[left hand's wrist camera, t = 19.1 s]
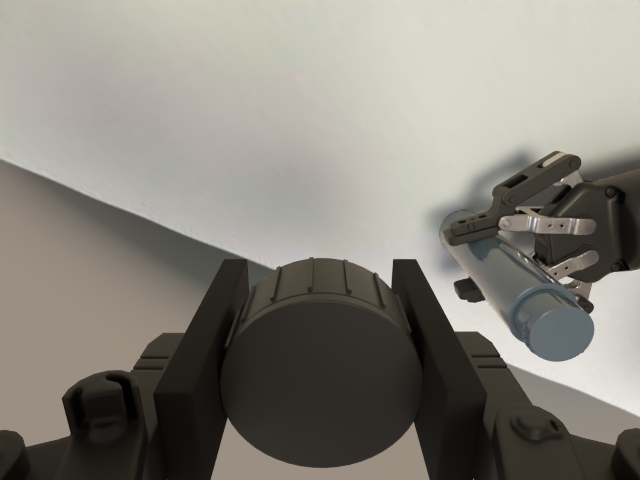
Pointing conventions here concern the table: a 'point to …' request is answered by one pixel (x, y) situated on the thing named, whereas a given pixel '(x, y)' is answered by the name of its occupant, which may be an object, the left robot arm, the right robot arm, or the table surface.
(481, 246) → the bottle
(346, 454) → the lid
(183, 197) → the table surface
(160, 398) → the left robot arm
